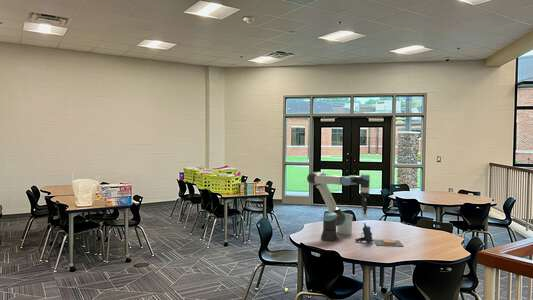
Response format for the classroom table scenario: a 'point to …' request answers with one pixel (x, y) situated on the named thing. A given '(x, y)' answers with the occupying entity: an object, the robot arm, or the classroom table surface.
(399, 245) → the mat
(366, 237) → the gun
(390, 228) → the classroom table surface
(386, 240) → the tile
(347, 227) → the utensil holder
